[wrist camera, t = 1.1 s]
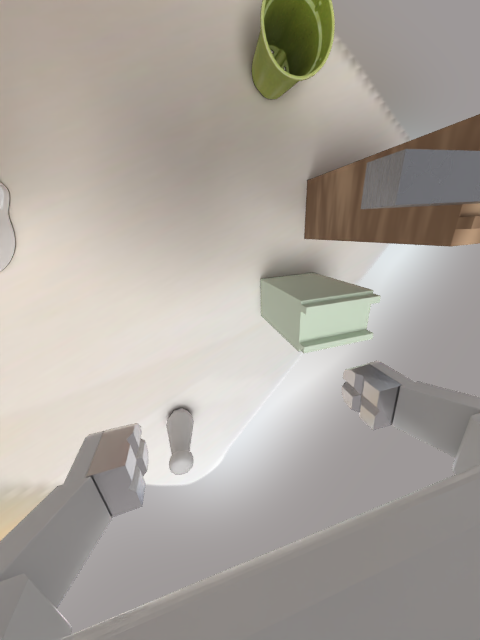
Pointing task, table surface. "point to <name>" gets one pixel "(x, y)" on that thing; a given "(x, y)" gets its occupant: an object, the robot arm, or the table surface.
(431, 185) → the bar
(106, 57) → the table surface
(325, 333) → the block
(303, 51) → the plant pot
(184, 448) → the salt shaker
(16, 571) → the robot arm
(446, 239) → the walnut stand
